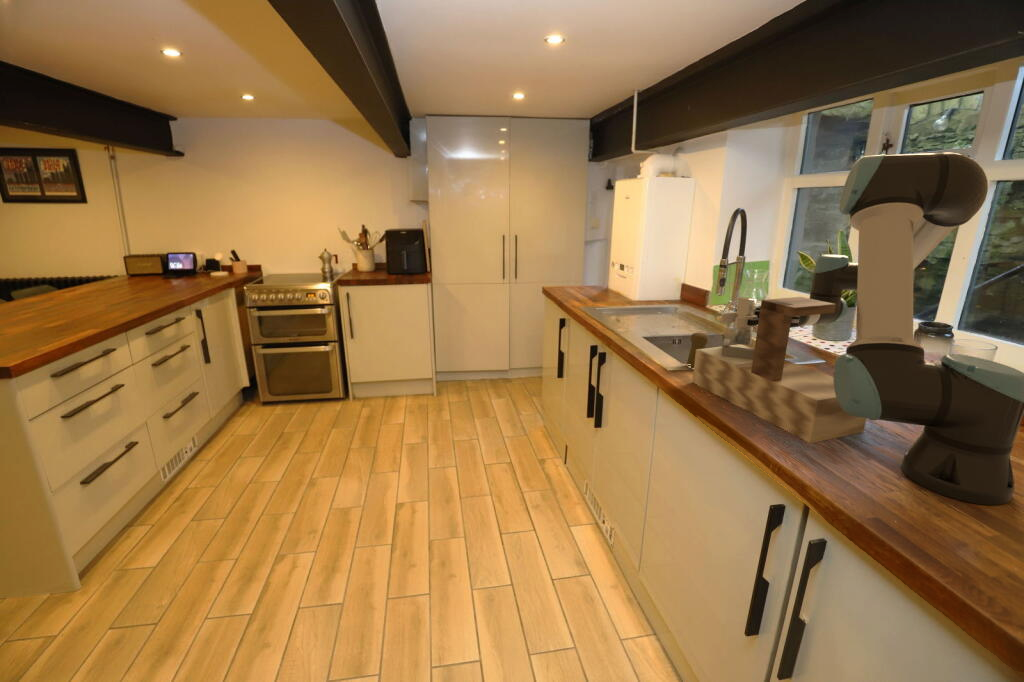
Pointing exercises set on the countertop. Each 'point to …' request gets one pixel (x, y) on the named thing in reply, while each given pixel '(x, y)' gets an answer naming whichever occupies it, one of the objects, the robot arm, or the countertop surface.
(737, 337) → the axle
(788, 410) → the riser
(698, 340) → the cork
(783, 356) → the brown wooden l bracket
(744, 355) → the v cradle
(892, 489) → the countertop surface
